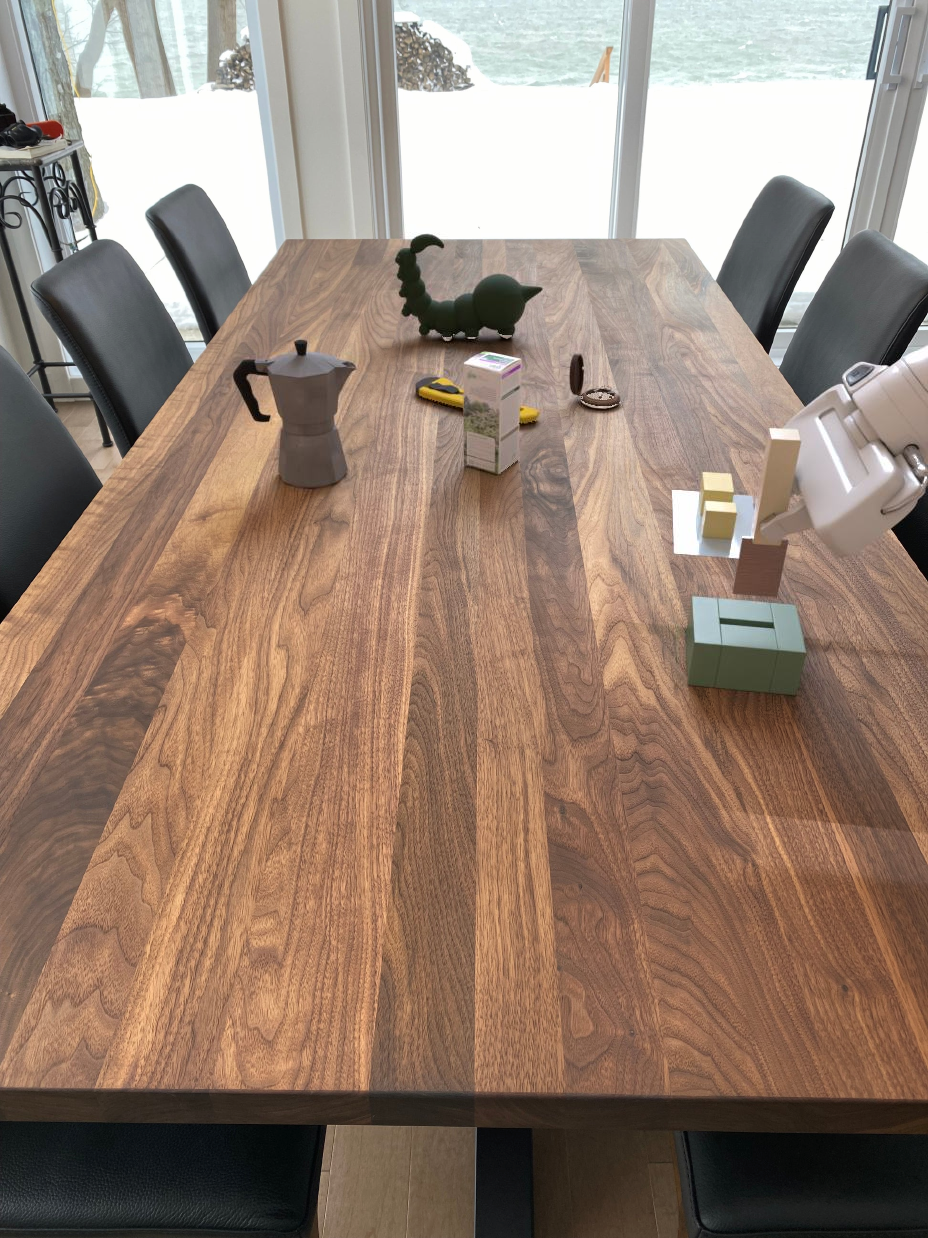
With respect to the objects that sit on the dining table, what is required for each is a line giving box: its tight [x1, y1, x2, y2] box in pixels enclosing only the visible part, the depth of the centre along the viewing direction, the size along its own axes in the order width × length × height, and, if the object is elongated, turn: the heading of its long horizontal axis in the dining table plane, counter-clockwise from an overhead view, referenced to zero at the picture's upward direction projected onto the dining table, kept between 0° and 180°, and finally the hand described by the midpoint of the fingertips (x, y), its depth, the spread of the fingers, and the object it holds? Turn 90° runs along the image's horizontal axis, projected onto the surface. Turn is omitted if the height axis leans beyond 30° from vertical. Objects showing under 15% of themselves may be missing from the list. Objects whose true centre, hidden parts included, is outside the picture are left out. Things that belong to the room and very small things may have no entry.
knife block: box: [684, 595, 808, 696], centre depth 94 cm, size 8×10×5 cm
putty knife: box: [732, 427, 801, 598], centre depth 86 cm, size 4×2×16 cm, turn 81°
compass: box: [568, 353, 621, 406], centre depth 149 cm, size 8×8×7 cm
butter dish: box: [671, 489, 755, 560], centre depth 117 cm, size 10×16×1 cm, turn 171°
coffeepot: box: [232, 338, 357, 489], centre depth 125 cm, size 15×9×18 cm, turn 92°
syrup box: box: [462, 351, 522, 475], centre depth 128 cm, size 6×6×14 cm
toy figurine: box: [394, 233, 544, 338], centre depth 170 cm, size 9×19×25 cm
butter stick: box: [698, 471, 735, 516], centre depth 119 cm, size 4×5×4 cm
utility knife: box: [414, 376, 540, 425], centre depth 149 cm, size 7×22×2 cm, turn 55°
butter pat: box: [701, 501, 737, 539], centre depth 113 cm, size 4×2×4 cm
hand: (760, 524), depth 86 cm, fingers closed on putty knife, 2 cm apart
